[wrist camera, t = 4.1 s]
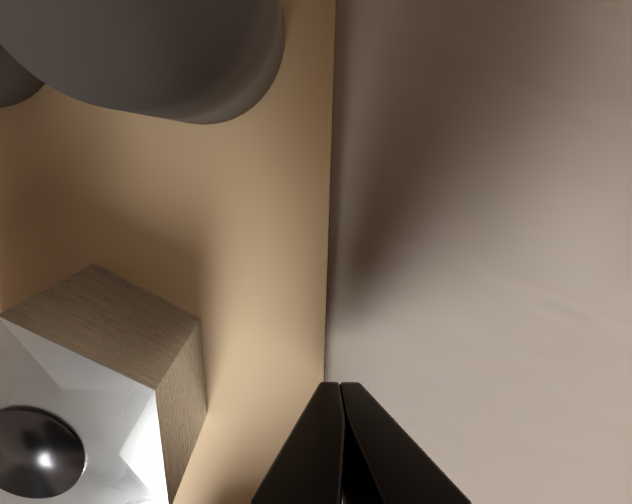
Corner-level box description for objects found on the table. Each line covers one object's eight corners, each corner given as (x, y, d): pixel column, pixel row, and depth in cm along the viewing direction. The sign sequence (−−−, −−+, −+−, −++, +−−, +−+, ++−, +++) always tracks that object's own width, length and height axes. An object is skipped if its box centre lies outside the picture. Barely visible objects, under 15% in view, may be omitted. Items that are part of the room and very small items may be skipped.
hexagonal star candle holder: (35, 453, 9) (-66, 566, 7) (-11, 261, 8) (-161, 315, 5) (210, 455, 9) (173, 567, 7) (197, 265, 8) (144, 319, 5)
